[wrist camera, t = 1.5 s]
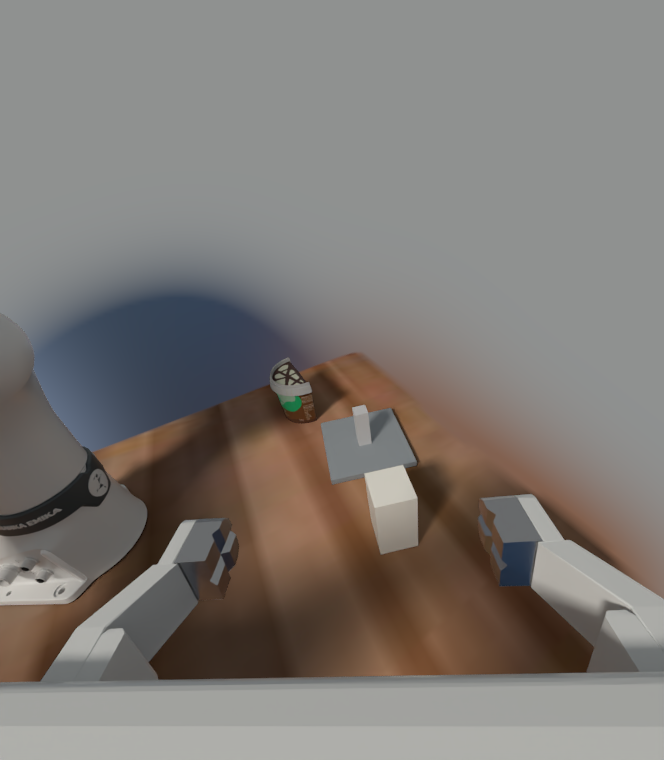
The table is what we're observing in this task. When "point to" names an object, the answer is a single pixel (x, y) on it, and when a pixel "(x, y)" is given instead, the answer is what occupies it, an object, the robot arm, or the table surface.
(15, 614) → the table surface
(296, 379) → the food container
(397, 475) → the tall white pillar
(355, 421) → the post stand
